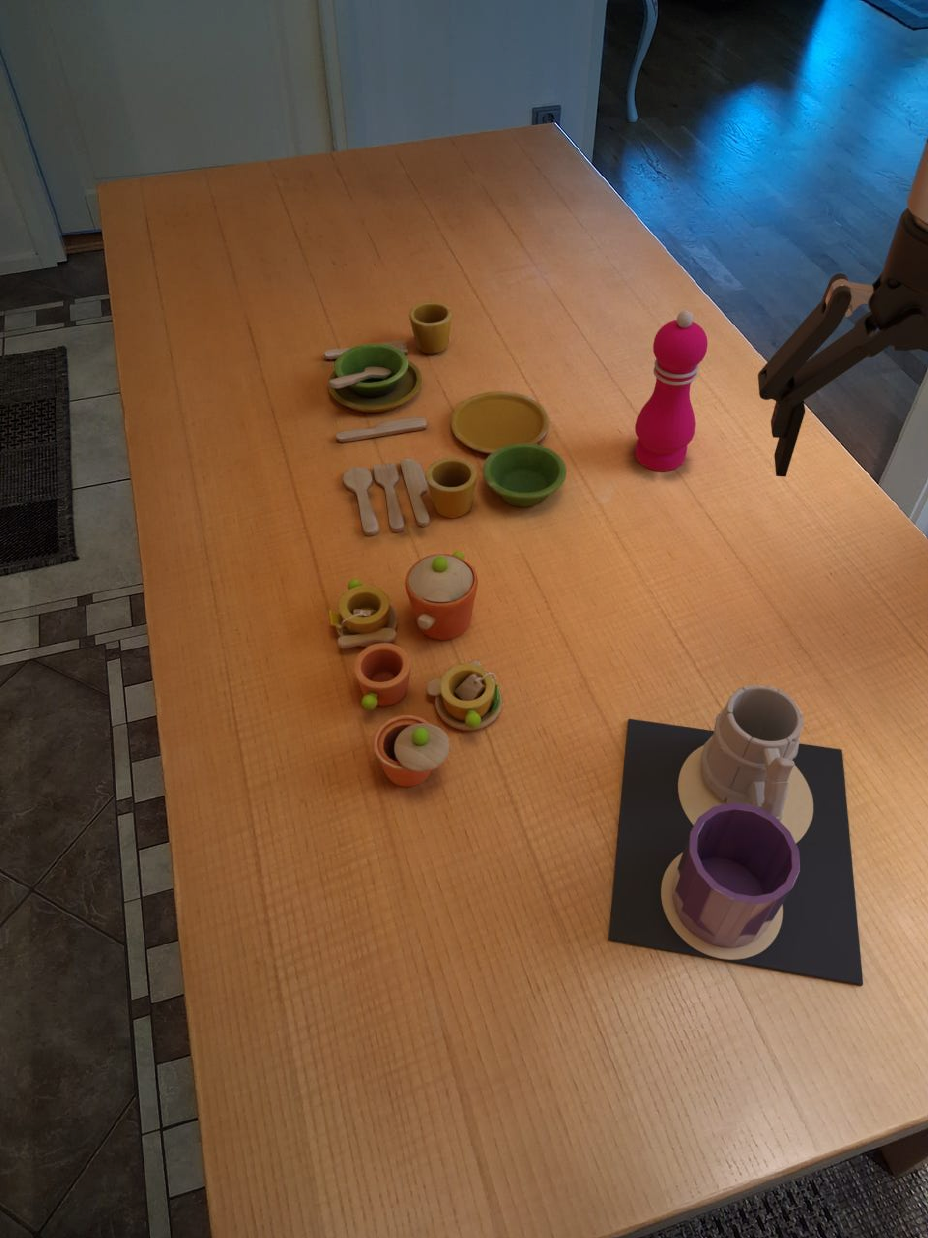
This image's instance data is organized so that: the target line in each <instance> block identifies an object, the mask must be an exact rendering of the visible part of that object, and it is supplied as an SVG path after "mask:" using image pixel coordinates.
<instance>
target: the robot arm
mask: <svg viewBox="0 0 928 1238" xmlns="http://www.w3.org/2000/svg"><path fill="white" fill-rule="evenodd" d="M921 152H922V153H921V156H920V157H919V158H920V159H919V162H918V164H917V167H916V171H915V172H914V176H913V179H912V181H911V185H910V187H909V190H908V193H907V197H906V199H905V200H906V206H907V207H906V208H905V209H904V210H903V211H902V212H901V214H900V217H899V219H898V222H897V226H896V228H895V231H894V234H893V237H892V240H891V243H890V246H889V249H888V252H887V255H886V258H885V261H884V265H883V268H882V271H881V273H880V274H879V276H878V277H877V278H876V279H875V281H873V282H872V284H865V283H859V282H854V281H853V282H852V281H849V278H848V276H847V275H846V273H842V272H839V273H836V274H834V275H832V276H831V278H830V280H829V281H828V284H827V286H826V288H825V290H824V293H823V296H822V298H821V301H820V302H819V303H818V304H817V305H816V307H815V308H814V309H813V310H812V311H811V312H810V313H809V315H808V316H807V317H806V318H805V319H804V320H803V322H801V324H800V325H799V326H798V327H797V328H796V330H794V332H792V334H791V335H790V336H789V337H788V338H787V339H786V341H785V342H784V343H783V345H781V347H779V349H778V350H777V351H776V352H775V353H774V354H773V355H772V357H771V358H770V359H769V360H768V361H767V362H766V363H765V364H764V366H763V367H762V368H761V369H760V370H759V372H758V374H757V383H758V395H759V398H760V399H762V400H764V401H769V400H773V401H775V404H774V407H773V412H772V416H771V419H770V428H771V435H772V438H776V439H778V441H777V444H776V448H775V450H774V455H773V456H774V457H773V458H774V466H775V467H774V468H775V476H776V477H787V473H788V470H789V468H790V464H791V461H792V457H793V453H794V451H795V447H796V444H797V440H798V437H799V434H800V430H801V428H802V424H803V421H804V418H805V414H806V405H805V400H806V399H809V397H811V396H812V395H814V394H815V393H817V392H819V391H820V390H821V389H822V388H824V387H825V386H827V385H828V384H829V383H831V382H833V381H834V380H836V379H837V378H838V377H840V376H841V375H843V374H844V373H846V372H847V371H849V370H850V369H852V368H853V367H854V366H856V365H857V364H859V363H860V362H862V361H863V360H864V359H866V358H868V357H869V358H873V357H875V356H877V355H878V354H880V353H881V352H883V351H885V349H887V348H889V347H890V346H891V347H893V349H894V351H896V352H897V351H899V352H909V351H914V350H920V351H924V352H927V353H928V137H927V138H926V141H925V144H924V147H923V150H922V151H921ZM862 306H868V309H869V312H867V313H866V314H864V315H863V316H862V317H860V318H859V319H858V320H857V321H856V322H855V323H854V325H853V327H852V328H851V329H850V330H848V331H847V332H846V333H844V334H843V335H841V336H840V337H839V338H837V339H836V340H835V341H833V342H832V343H830V344H829V345H827V346H826V347H825V348H823V349H822V350H821V351H819V352H818V353H816V352H817V351H818V349H819V348H821V346H822V345H823V344H825V342H826V341H827V340H828V339H829V338H830V336H832V334H833V333H834V332H835V331H836V330H837V329H838V327H839V326H840V325H841V323H842V321H843V319H844V318H850V317H852V316H853V314H854V312H855V311H856V310H857V309H858V308H859V307H862ZM877 329H878V331H877V332H876V330H877ZM815 353H816V354H815ZM814 354H815V355H814ZM813 355H814V356H813Z"/></svg>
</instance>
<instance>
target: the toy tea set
mask: <svg viewBox="0 0 928 1238" xmlns="http://www.w3.org/2000/svg"><path fill="white" fill-rule="evenodd" d="M465 559H466V556H465V554H464V553H463V552H462V551H458V550H457V551H455V552H453V553H452V554H448V553H447V554H446V553H437V554H432V555H427V556H424V557H423V558H421V559H419V560H418V561H416V562H415V563H414V564H413V565H412V566H411V567H409V569H408V571H407V572H406V576H405V580H404V587H405V592H406V594H407V597H408V600H409V603H410V606H411V609H412V613H413V616H414V619H415V622H416V624H417V626H418V629H419V630H420V631H421V632H422V633H423V634H424V635H425V636H426V637H428V638H430V639H433V640H440V641H447V640H448V641H449V640H453V639H455V638H457V637H459V636H460V635H462V634H464V633H465V632H466V631H467V629H468V628H469V626H470V624H471V620H472V615H473V609H474V606H475V605H474V604H475V600H476V595H477V589H478V584H479V582H478V581H479V580H478V574H477V572H476V570H475V568H474V567H473V566H472V565H471V564H470V563H469V562H468V561H467V560H465ZM347 589H348V590H347V591H345V592H344V593H343V594H342V595H341V597H340V599H339V601H338V604H337V607H338V608H337V609H338V613H337V612H335V611H333V610H330V609H328V614H329V620H330V625H331V626H334V627H335V628H336V632H337V634H338V635H339V637H338V638H337V645H338V647H339V649H349V648H350V649H352V648H355V647H363V648H364V647H365V648H364V649H362V650H361V651H360V652H359V653H358V654H357V656H356V658H355V659H354V661H353V665H352V670H353V675H354V677H355V680H356V682H357V683H358V686H359V688H360V691H361V693H362V695H363V697H362V699H361V706H362V708H363V709H365V710H366V711H372V710H374V709H376V707H377V706H381V707H388V706H391V705H394V704H397V703H398V702H400V701H401V700H402V699H403V698H405V696H406V694H407V692H408V688H409V681H410V675H411V674H410V673H411V667H412V663H411V658H410V656H409V654H408V653H407V651H406V650H404V649H403V647H400V646H398V645H396V644H394V643H392V642H393V641H394V640H396V638H397V636H398V635H397V634H398V633H397V627H398V624H399V614H398V612H397V610H396V608H395V607H394V606H393V605H392V604H391V602H390V598H389V596H388V594H387V593H386V592H385V591H384V590H383V589H381V588H380V587H377V586H375V585H366V584H365V585H363V584H362V581H361V580H360V579H358V578H352V579H350V580H349V581H348V583H347ZM426 692H427V694H428V695H429V696H431V697H435V698H434V705H435V710H436V713H437V715H438V716H439V718H440V719H441V720H442V721H443V722H444V723H445V724H446V725H448V726H450V727H452V728H455V729H456V730H461V731H476V730H480V729H482V728H486V727H487V726H489V725H490V724H491V723H493V722H494V721H495V720H496V719H497V717H499V715H500V713H501V711H502V707H503V695H502V693H501V690H500V688H499V685H498V683H497V678H496V675H495V674H494V673H493V672H489V671H488V670H487V669H486V668H484V667H482V663H481V662H480V661H478V660H472V661H470V662H468V663H464V664H463V663H462V664H458V665H454V666H452V667H451V668H449V669H448V670H447V671H446V672H445V673H443V675H442V677H436V678H433V679H431V680H430V681H429V682H428V683H427V685H426ZM372 744H373V751H374V753H375V755H376V757H377V760H378V762H379V764H380V765H381V767H382V770H383V772H384V774H385V775H386V777H387V779H388V780H389V781H391V782H392V783H393V784H394V785H397V786H400V787H406V788H407V787H414V786H418V785H420V784H421V783H423V782H425V781H426V779H427V778H428V777H430V774H431V773H432V770H434V769H437V768H438V767H440V766H441V765H442V764H443V763H444V762H445V761H446V759H447V758H448V756H449V753H450V749H451V748H450V747H451V745H450V739H449V736H448V735H447V733H446V732H445V731H444V730H443V729H442V728H440V727H439V726H437V725H435V724H433V723H429V722H428V720H426V719H424V718H423V717H420V716H418V715H412V714H402V715H397V716H394V717H392V718H390V719H388V720H386V721H385V722H384V723H383V724H381V725H380V727H379V728H378V729H377V731H376V732H375V735H374V737H373V743H372Z"/></svg>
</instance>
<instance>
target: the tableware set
mask: <svg viewBox="0 0 928 1238" xmlns="http://www.w3.org/2000/svg"><path fill="white" fill-rule="evenodd" d="M452 313H453V312H452V310H451V308H450V307H449V306H448V305H446V304H444V303H441V302H435V301H424V302H420V303H417V304H415V305H413V306H412V308H410V310H409V313H408V318H409V321H410V326H411V329H412V333H413V339H414V342H415V346H416V348H417V349H418V350H419V351H420V352H422V353H424V354H430V355H431V354H433V355H434V354H438V353H442V352H443V351H445V350H446V349H447V347H448V346H449V338H450V329H451V323H452ZM408 353H409V351H408V348H407V343H406V342H405V341H383V342H382V343H366V344H359V345H356V346H354V347H345V348H342V347H341V348H333V349H328V350H326V351H325V352H323V358H324V359H325V360H327V359H330V360H335V361H334V365H333V371H332V372H331V374H329V375H330V376H329V378H328V381H327V388H328V391H329V393H330V395H331V396H332V397H333V398H334V400H335V401H337V402H338V403H339V404H341V405H343V406H345V407H347V408H348V409H351V410H352V411H353V410H354V411H357V412H360V413H361V412H362V413H371V414H372V413H373V414H374V413H381V412H382V413H383V412H388V411H391V410H395V409H397V408H399V407H402V406H403V405H404V404H407V402H409V401H410V400H411V399H413V397H415V395H416V394H417V393H418V392H419V391H420V388H421V387H422V382H423V377H422V373H421V370H420V369H419V367H418V366H417V365H416V364H415V363H414V362H413V361H411V360H409V359H408V357H407V355H406V354H408ZM427 423H428V422H427V421H426V419H425V418H424V417H421V416H414V417H405V418H398V419H392V420H387V421H381V422H378V424H377V425H376V426H375V427H372V428H363V429H354V430H345V431H339V432H337V433H336V435H335V437H336V441H337V442H339V443H347V442H348V443H349V442H355V441H361V440H368V439H373V438H379V437H386V436H392V435H397V434H403V433H410V432H416V431H422V430H426V429H427V428H428V424H427ZM450 428H451V431H452V433H453V435H454V436H455V437H456V438H457V439H458V440H459V441H460V442H461V443H462V444H463V445H465V446H466V447H467V448H470V449H472V450H474V451H476V452H479V453H482V454H486V455H488V456H487V457H486V459H485V461H484V462H483V465H482V477H483V479H484V482H485V483H486V484H487V486H488V487H489V488H490V489H491V490H492V491H493V492H494V493H496V494H497V495H498V496H500V498H501V499H502V500H503V501H504V502H506V503H508V504H510V505H513V506H516V507H523V508H525V507H534V506H536V505H539V504H541V503H542V502H544V501H545V500H546V499H548V497H550V496H551V495H553V494H554V493H556V491H558V490H559V489H560V488H561V487H562V485H563V484H564V483H565V480H566V477H567V466H566V463H565V461H564V459H563V458H562V457H561V456H560V455H559V454H558V453H557V452H556V451H554V450H552V449H550V448H548V447H546V446H544V445H540V444H538V443H539V442H540V441H541V440H542V439H544V438H545V435H546V434H547V433H548V431H549V428H550V417H549V413H548V412H547V410H546V409H545V407H544V406H543V405H542V404H541V403H539V401H537V400H535V399H533V398H532V397H531V396H528V395H526V394H522V393H518V392H515V391H514V392H513V391H506V390H505V391H504V390H498V391H495V390H494V391H486V392H483V393H479V394H476V395H473V396H471V397H469V398H467V399H465V400H464V401H462V402H461V403H460V404H458V405H457V407H456V408H455V409H454V410H453V412H452V414H451V418H450ZM372 468H373V475H372V472H371V471H370V470H369V469H367V468H366V467H362V466H354V467H351V468H349V469H347V470H346V471H345V472H344V473H343V475H342V476H343V477H342V480H343V484H344V487H345V488H347V489H348V491H351V492H352V493H354V494H355V496H356V498H357V502H358V503H357V504H358V508H359V509H358V510H359V514H360V520H361V526H362V532H363V534H364V535H366V536H368V537H370V536H375V535H377V534H378V532H379V530H380V527H379V523H378V519H377V517H376V514H375V511H374V508H373V506H372V503H371V500H370V497H369V494H368V490H369V489H370V488H371V486H372V484H373V476H374V479H375V483H376V484H377V485H378V486H380V487H381V488H383V490H384V494H385V499H386V505H387V506H386V508H387V515H388V523H389V528H390V530H391V531H392V532H394V533H401V532H402V531H403V530H404V527H405V523H404V518H403V514H402V511H401V508H400V504H399V501H398V498H397V497H398V496H397V494H396V490H395V487H396V485H397V484H398V482H399V481H400V476H399V471H398V468H397V465H396V463H395V462H390V463H388V464H387V463H382V464H381V466H380V464H376V465H373V467H372ZM400 469H401V473H402V476H403V479H404V483H405V487H406V490H407V493H408V497H409V500H410V504H411V507H412V510H413V515H414V518H415V522H416V524H417V525H418V526H419V527H422V528H424V527H427V526H428V525H429V524H430V515H429V513H428V510H427V508H426V505H425V503H424V501H423V499H422V496H423V495H425V494H426V493H427V492H428V491H429V494H430V497H431V501H432V505H433V508H434V510H435V512H436V513H438V515H440V516H442V517H445V518H449V519H454V518H460V517H463V516H464V515H467V514H468V513H469V512H470V510H471V509H472V505H473V500H474V495H475V489H476V484H477V483H476V482H477V478H478V470H477V468H476V467H475V466H474V465H473V464H472V463H471V462H470V461H468V460H466V459H464V458H461V457H456V456H455V457H454V456H450V457H443V458H439V459H438V460H436V461H434V462H433V463H430V465H429V466H428V467H427V469H426V472H425V473H424V470H423V468H422V465H421V464H420V463H419V462H418V461H417V460H415V459H412V458H406V459H405V458H404V459H402V460H400Z"/></svg>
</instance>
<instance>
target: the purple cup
mask: <svg viewBox="0 0 928 1238" xmlns="http://www.w3.org/2000/svg"><path fill="white" fill-rule="evenodd" d="M799 872H800V857H799V849H798V847H797V845H796V843H795V841H794V839H793V837H792V835H791V833H790V832H789V830H788V829H787V828H786V827H785V826H784V825H783V824H782V823H781V822H780V821H779V820H778V819H777V818H776V817H775V816H773V815H771V814H769V813H768V812H766V811H764V810H762V809H760V808H758V807H756V806H752V805H746V804H739V803H729V804H724V805H719V806H714V807H712V808H711V809H709V810H708V811H707V812H705V813H704V814H702V815H701V816H699V818H698V819H697V821H696V823H695V825H694V826H693V828H692V830H691V832H690V835H689V837H688V840H687V843H686V846H685V848H684V851H683V854H682V857H681V859H680V862H679V865H678V868H677V870H676V873H675V876H674V879H673V885H672V900H673V904H674V908H675V910H676V913H677V915H678V917H679V918H680V920H681V922H682V923H683V924H684V926H685V927H686V928H687V929H688V930H689V931H690V932H691V933H692V934H694V935H695V936H696V937H698V938H699V939H701V940H703V941H705V942H707V943H709V944H712V945H714V946H718V947H724V948H736V947H742V946H745V945H748V944H750V943H752V942H754V941H755V940H757V939H758V938H759V937H760V936H761V935H762V934H763V933H764V932H765V931H766V930H767V929H768V927H769V925H770V924H771V922H772V920H773V919H774V917H775V915H776V914H777V912H778V911H779V909H780V907H781V906H782V904H783V902H784V901H785V899H786V897H787V896H788V894H789V893H790V891H791V889H792V888H793V886H794V883H795V881H796V879H797V877H798V874H799Z"/></svg>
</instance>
